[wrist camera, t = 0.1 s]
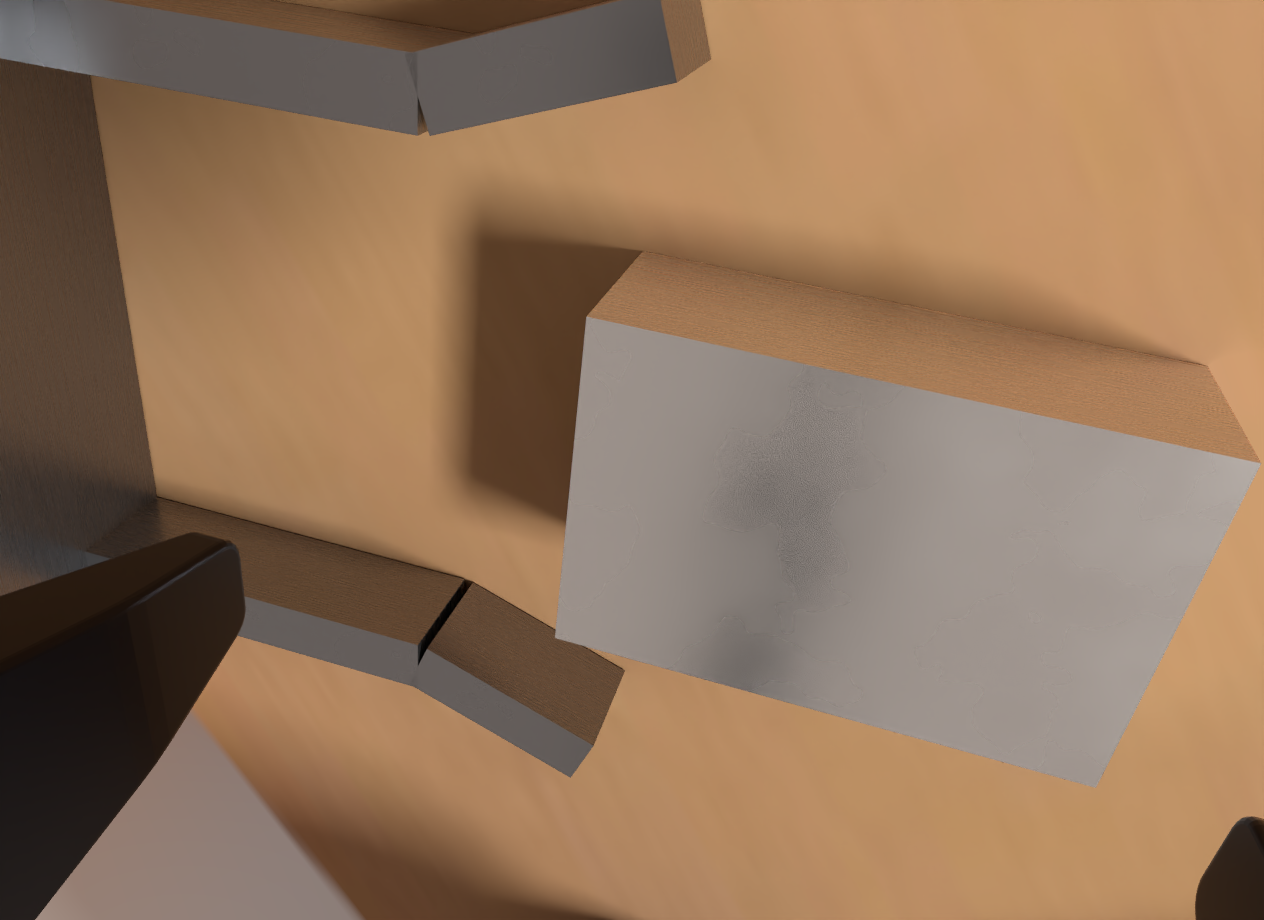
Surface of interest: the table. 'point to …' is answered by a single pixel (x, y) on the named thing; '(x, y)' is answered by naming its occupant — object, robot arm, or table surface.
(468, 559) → the table surface
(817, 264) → the table surface
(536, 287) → the table surface
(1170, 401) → the block
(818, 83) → the table surface
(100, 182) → the guide bracket
